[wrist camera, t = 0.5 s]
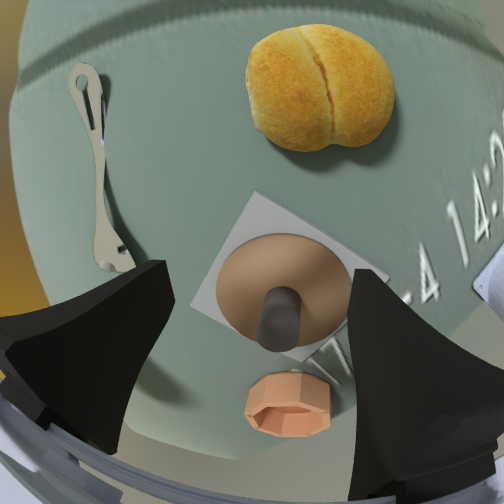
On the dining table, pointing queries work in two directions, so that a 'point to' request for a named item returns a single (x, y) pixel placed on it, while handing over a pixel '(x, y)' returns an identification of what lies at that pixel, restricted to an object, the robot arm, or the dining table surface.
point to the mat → (268, 222)
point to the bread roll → (318, 88)
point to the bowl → (289, 404)
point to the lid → (283, 291)
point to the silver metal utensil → (99, 174)
